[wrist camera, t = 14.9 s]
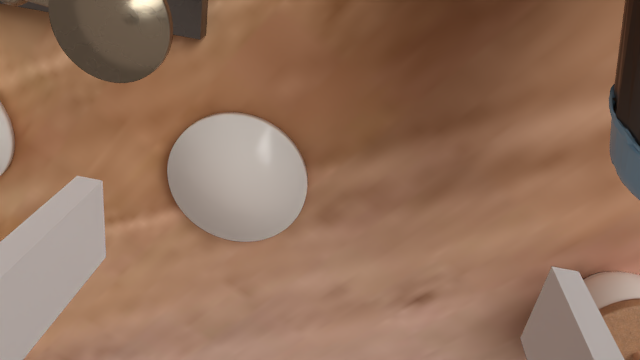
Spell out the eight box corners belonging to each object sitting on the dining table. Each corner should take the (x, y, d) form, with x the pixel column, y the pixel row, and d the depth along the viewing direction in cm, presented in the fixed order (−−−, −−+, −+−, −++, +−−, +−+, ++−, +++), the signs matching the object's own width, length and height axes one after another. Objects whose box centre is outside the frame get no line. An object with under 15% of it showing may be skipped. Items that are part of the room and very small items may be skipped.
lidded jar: (579, 353, 56) (614, 430, 48) (526, 286, 53) (553, 356, 45) (682, 307, 52) (740, 382, 44) (631, 231, 49) (682, 297, 41)
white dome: (174, 97, 47) (168, 103, 46) (318, 124, 47) (316, 130, 46) (171, 220, 54) (165, 228, 52) (298, 244, 53) (296, 252, 52)
